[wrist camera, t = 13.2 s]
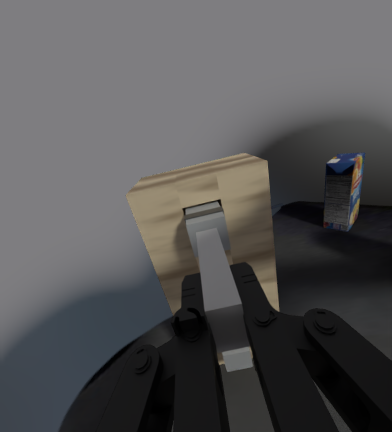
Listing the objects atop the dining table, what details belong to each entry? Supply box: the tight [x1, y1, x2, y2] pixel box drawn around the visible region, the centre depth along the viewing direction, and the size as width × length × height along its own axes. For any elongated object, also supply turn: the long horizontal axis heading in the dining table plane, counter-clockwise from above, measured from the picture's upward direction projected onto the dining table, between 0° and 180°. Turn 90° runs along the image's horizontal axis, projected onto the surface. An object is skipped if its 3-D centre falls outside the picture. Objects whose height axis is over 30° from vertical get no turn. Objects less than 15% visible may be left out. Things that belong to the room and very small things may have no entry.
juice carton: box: [323, 153, 365, 232], centre depth 68 cm, size 12×8×24 cm, turn 132°
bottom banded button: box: [222, 347, 253, 372], centre depth 34 cm, size 5×5×5 cm
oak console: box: [126, 153, 279, 365], centre depth 36 cm, size 10×18×38 cm, turn 93°
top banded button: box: [184, 201, 231, 257], centre depth 25 cm, size 5×5×5 cm
